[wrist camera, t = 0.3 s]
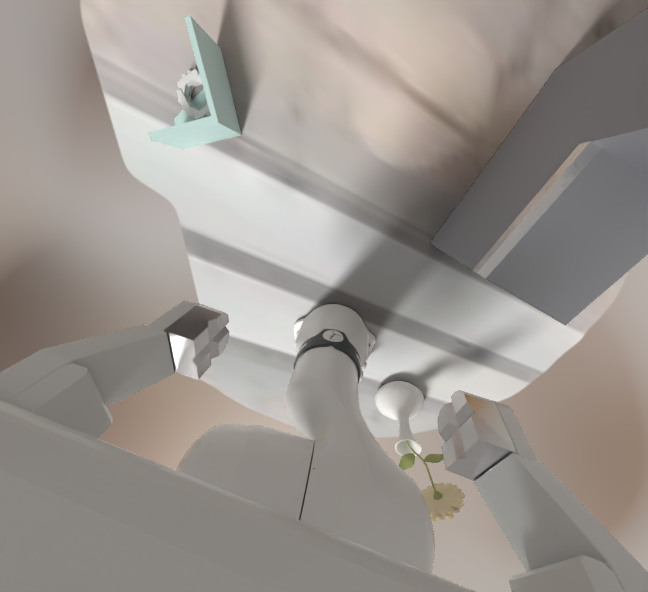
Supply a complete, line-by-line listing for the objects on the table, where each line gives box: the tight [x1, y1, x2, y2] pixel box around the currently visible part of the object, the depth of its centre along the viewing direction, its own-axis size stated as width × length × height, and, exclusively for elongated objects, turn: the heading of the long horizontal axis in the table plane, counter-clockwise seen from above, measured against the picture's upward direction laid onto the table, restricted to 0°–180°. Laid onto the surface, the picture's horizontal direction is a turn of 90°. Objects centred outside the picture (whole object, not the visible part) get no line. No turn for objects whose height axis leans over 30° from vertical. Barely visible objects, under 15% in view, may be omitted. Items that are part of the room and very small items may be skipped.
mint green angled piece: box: [149, 16, 241, 149], centre depth 38 cm, size 12×12×8 cm
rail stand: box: [430, 8, 648, 325], centre depth 28 cm, size 12×28×26 cm, turn 152°
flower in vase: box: [375, 381, 465, 521], centre depth 48 cm, size 13×11×25 cm
